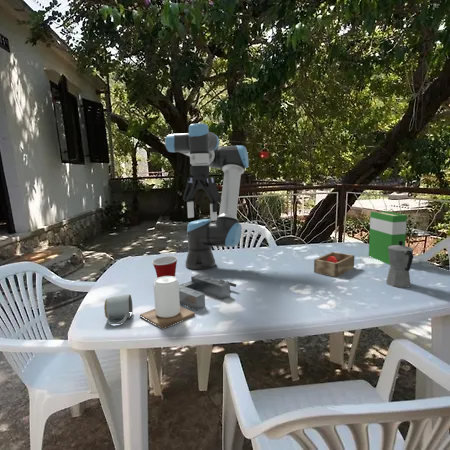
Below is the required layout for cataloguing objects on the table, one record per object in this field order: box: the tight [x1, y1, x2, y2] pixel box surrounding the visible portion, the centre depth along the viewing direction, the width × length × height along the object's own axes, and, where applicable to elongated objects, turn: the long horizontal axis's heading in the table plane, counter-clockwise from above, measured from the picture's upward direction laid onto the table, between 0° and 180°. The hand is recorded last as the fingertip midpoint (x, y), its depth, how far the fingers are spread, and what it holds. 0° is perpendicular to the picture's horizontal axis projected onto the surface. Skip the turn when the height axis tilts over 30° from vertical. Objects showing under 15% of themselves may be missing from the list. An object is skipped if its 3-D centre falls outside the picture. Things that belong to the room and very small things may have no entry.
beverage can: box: [153, 276, 181, 318], centre depth 111 cm, size 8×8×12 cm
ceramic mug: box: [104, 293, 134, 325], centre depth 110 cm, size 11×8×8 cm
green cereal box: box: [368, 210, 408, 266], centre depth 169 cm, size 18×7×24 cm, turn 10°
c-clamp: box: [179, 274, 237, 311], centre depth 130 cm, size 18×23×5 cm
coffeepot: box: [386, 241, 414, 288], centre depth 134 cm, size 15×9×18 cm, turn 179°
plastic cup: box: [151, 255, 178, 279], centre depth 139 cm, size 11×11×12 cm
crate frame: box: [313, 251, 355, 278], centre depth 156 cm, size 11×18×6 cm, turn 136°
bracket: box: [327, 256, 338, 263], centre depth 156 cm, size 12×4×8 cm, turn 22°
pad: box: [139, 306, 196, 329], centre depth 112 cm, size 13×13×1 cm
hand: (202, 218), depth 134 cm, fingers open, 13 cm apart
